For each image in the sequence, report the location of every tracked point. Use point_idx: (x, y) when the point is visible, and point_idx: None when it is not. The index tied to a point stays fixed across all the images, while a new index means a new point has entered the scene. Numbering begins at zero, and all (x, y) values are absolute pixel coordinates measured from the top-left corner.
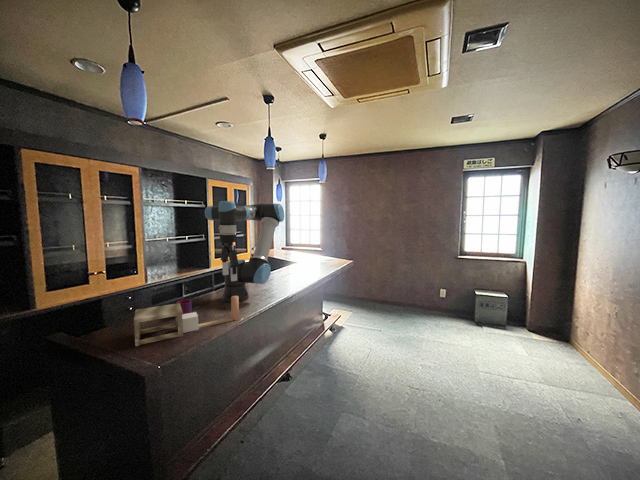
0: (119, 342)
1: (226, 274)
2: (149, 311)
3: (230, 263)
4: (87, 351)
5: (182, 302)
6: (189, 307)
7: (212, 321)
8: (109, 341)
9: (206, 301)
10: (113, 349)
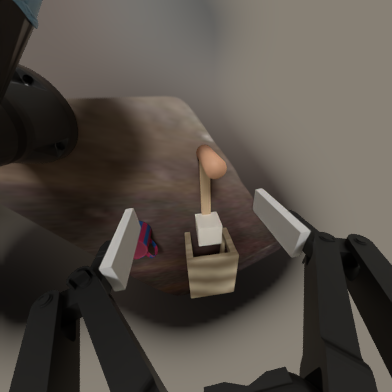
0: None
1: (135, 217)
2: (208, 286)
3: (304, 277)
4: None
5: None
6: (144, 234)
7: (201, 194)
8: None
9: (51, 196)
10: None
